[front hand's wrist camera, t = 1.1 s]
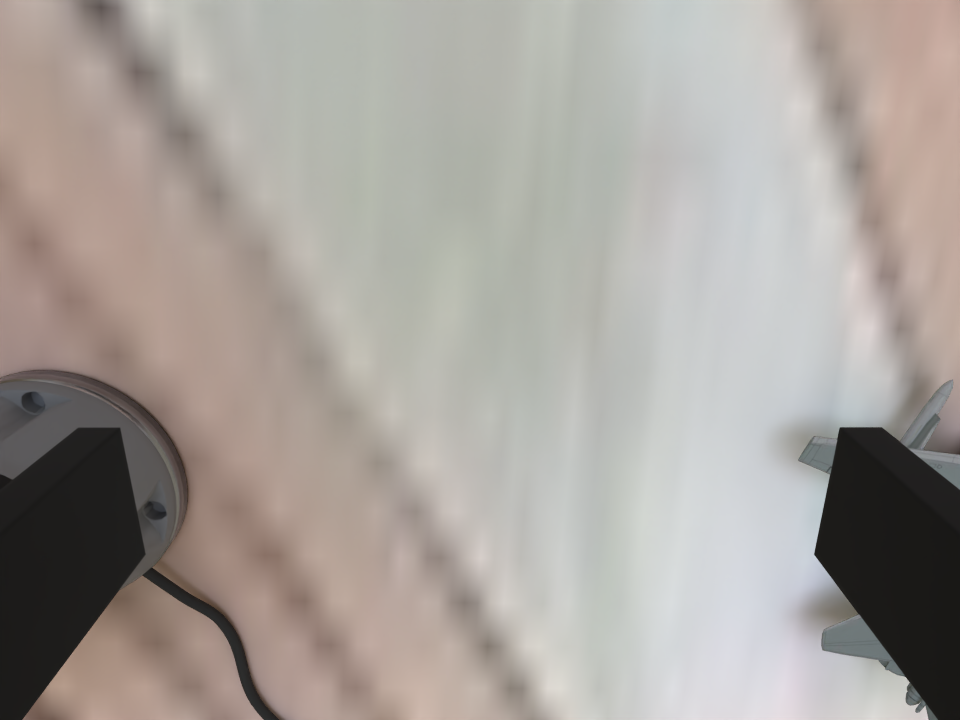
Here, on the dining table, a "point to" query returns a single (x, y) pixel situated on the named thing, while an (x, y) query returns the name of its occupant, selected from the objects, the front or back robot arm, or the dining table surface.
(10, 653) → the front robot arm
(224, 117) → the dining table surface
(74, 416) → the back robot arm
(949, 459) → the airplane
